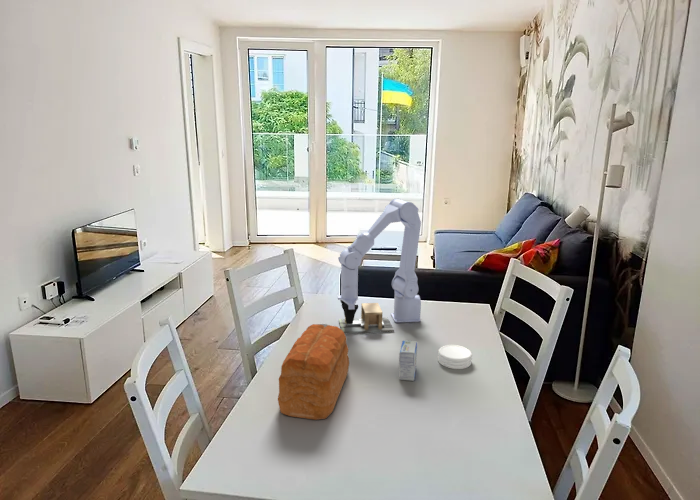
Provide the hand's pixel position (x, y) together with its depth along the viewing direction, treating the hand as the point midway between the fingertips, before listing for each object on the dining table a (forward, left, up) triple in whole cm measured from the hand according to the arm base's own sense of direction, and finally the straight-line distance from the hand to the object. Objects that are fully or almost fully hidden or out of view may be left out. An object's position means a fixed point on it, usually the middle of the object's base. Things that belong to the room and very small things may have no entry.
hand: (348, 321), depth 169 cm
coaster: (-29, +28, -3) cm, 40 cm away
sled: (-5, 0, -1) cm, 5 cm away
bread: (+14, +40, -2) cm, 42 cm away
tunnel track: (-6, 0, -2) cm, 6 cm away
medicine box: (-13, +34, -2) cm, 36 cm away
